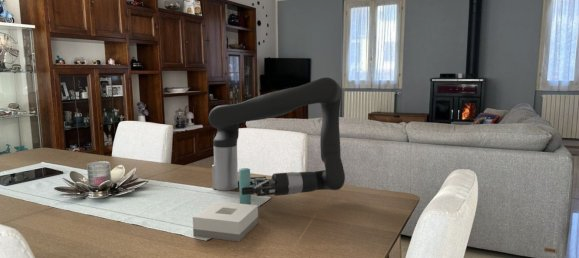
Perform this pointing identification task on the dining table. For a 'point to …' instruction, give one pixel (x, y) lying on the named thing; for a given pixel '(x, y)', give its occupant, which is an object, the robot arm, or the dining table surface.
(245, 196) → the pin
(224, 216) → the block
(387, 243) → the dining table surface
